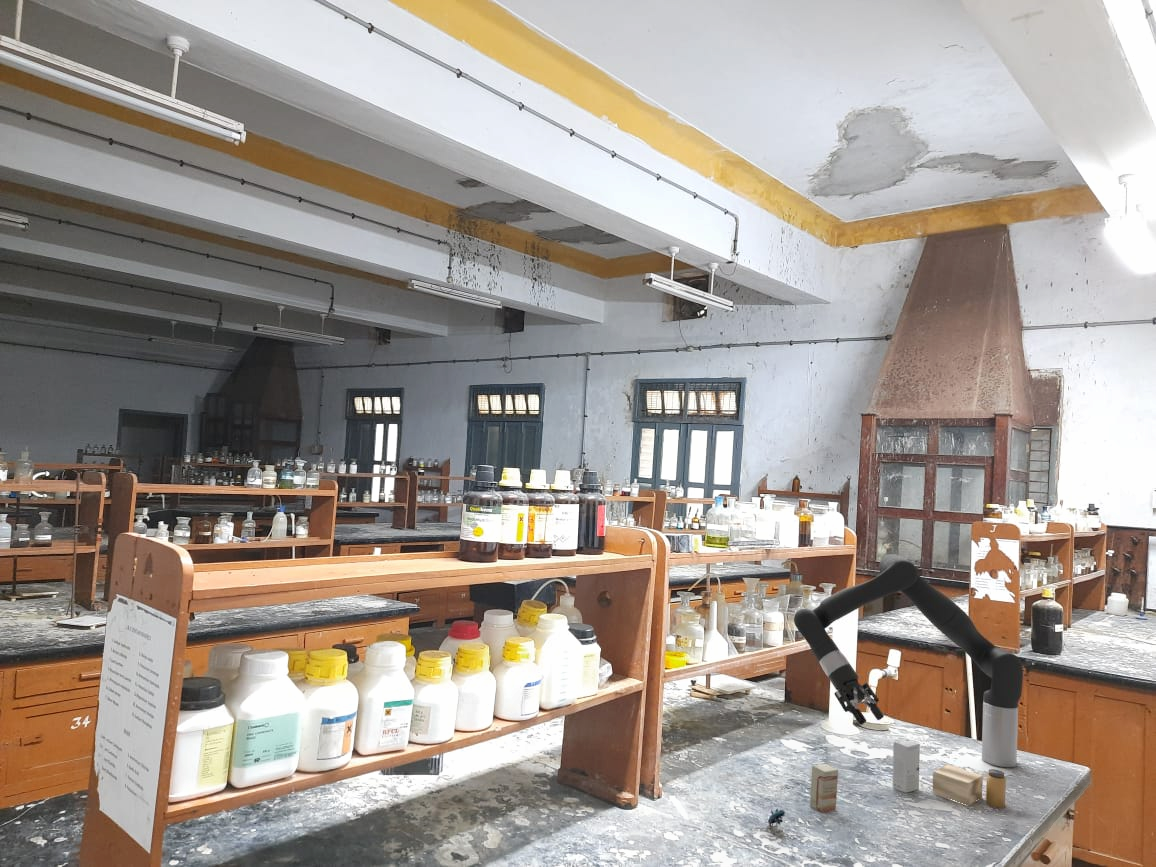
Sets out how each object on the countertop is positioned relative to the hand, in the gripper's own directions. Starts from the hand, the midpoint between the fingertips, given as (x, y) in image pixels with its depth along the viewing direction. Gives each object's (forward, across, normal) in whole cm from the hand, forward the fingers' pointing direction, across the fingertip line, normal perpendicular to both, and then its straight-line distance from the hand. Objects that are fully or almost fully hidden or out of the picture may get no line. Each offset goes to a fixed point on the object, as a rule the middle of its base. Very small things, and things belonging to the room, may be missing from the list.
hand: (872, 720), depth 215 cm
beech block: (+25, +8, -4) cm, 27 cm away
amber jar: (+31, +12, -10) cm, 34 cm away
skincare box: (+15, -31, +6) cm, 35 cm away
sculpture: (+17, -52, +5) cm, 55 cm away
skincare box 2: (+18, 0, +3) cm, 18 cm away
